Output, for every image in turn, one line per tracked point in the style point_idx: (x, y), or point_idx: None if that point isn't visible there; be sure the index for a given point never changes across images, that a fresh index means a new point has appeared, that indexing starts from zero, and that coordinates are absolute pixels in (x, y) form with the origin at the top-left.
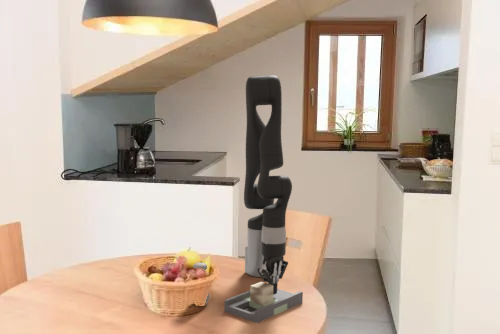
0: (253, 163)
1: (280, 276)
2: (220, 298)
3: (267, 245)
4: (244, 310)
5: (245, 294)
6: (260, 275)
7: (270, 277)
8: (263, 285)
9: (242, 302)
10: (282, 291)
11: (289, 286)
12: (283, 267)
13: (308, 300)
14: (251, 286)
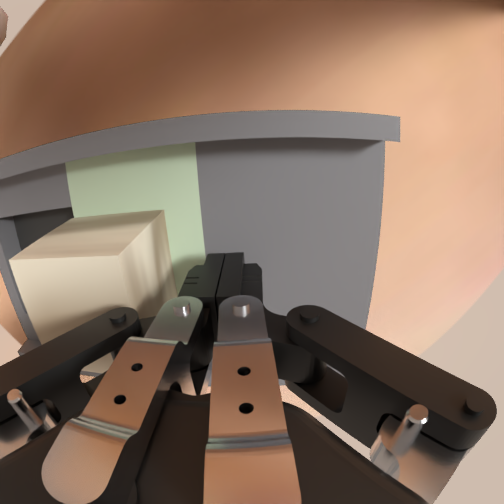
0: None
1: (292, 387)
2: (76, 6)
3: None
4: (10, 280)
5: (65, 161)
6: (32, 353)
7: (198, 336)
8: None
9: (36, 200)
10: (361, 243)
11: (496, 154)
12: (368, 444)
13: (388, 338)
14: (15, 268)
